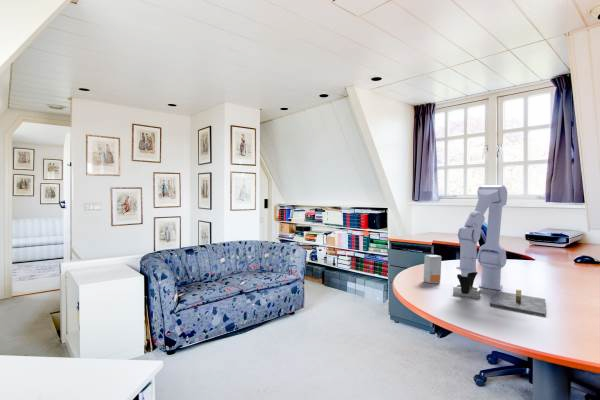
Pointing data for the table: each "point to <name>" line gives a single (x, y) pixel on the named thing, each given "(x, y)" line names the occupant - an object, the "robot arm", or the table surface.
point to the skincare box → (432, 268)
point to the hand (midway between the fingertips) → (466, 291)
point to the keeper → (519, 303)
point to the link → (472, 293)
